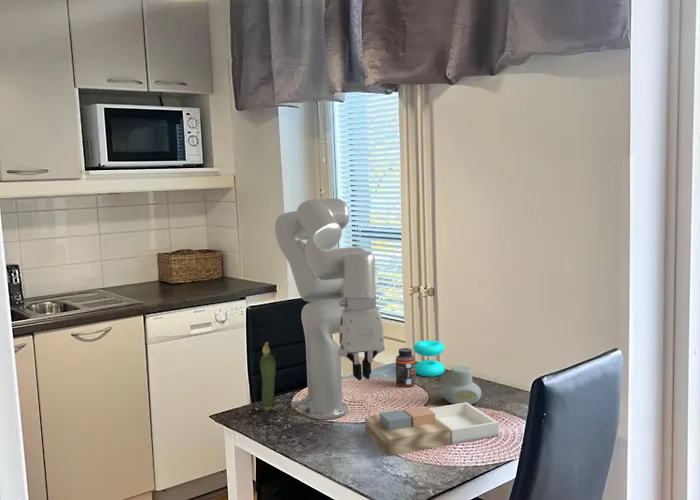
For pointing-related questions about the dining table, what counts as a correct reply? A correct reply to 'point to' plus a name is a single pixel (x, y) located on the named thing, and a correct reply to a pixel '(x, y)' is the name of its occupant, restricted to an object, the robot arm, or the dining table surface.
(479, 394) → the air freshener
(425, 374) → the donuts
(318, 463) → the dining table surface
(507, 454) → the dining table surface
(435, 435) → the board
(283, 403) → the dining table surface
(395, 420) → the tile
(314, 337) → the robot arm
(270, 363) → the vegetable
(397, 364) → the supplement bottle
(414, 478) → the dining table surface
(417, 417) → the tile
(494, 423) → the box
